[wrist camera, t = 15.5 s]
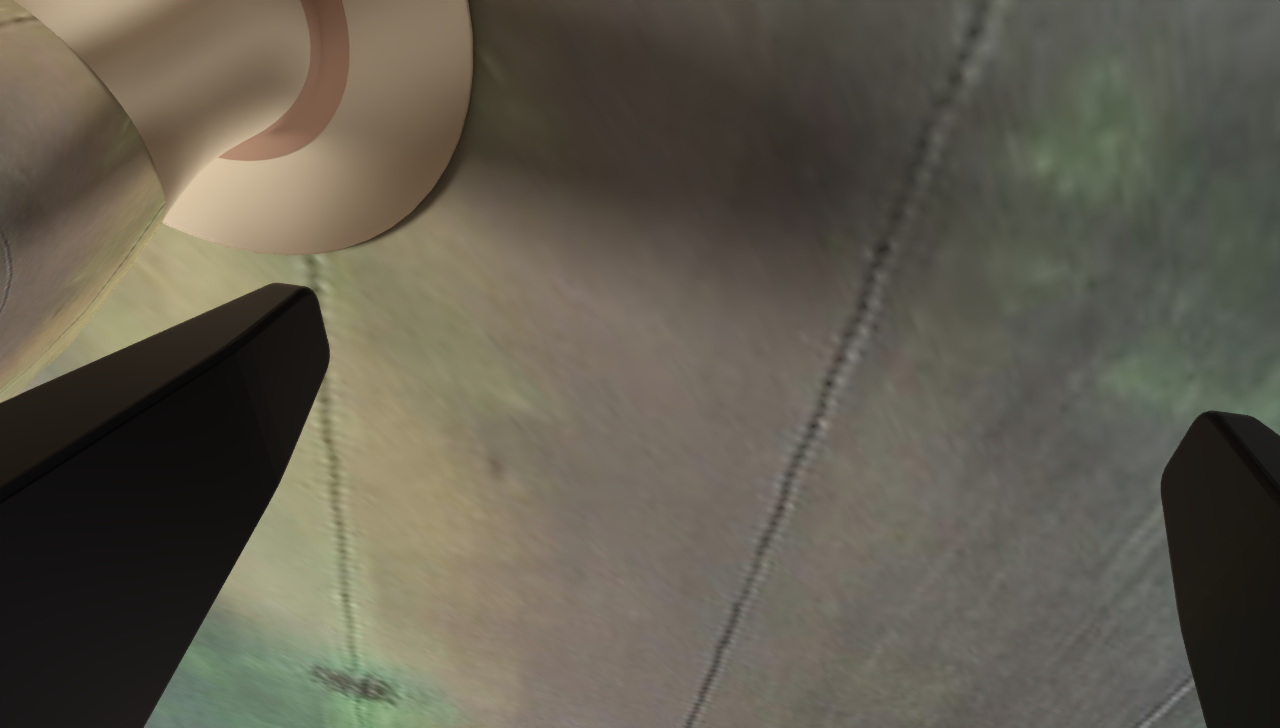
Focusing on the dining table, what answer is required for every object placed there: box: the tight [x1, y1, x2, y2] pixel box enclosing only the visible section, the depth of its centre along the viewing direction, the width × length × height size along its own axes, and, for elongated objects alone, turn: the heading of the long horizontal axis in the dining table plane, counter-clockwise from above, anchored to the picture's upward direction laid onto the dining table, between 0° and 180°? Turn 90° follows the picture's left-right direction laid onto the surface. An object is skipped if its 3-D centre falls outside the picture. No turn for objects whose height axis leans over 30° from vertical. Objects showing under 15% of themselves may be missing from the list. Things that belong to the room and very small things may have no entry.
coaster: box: [162, 0, 473, 255], centre depth 21 cm, size 14×14×1 cm
